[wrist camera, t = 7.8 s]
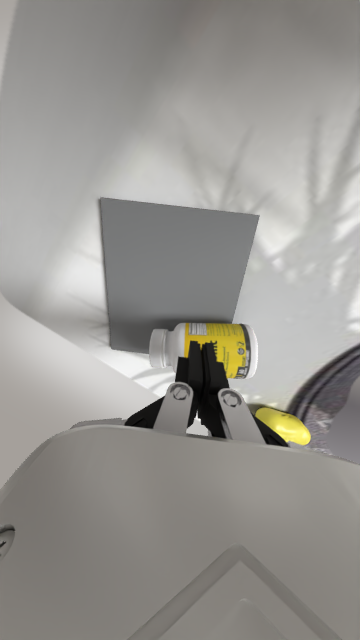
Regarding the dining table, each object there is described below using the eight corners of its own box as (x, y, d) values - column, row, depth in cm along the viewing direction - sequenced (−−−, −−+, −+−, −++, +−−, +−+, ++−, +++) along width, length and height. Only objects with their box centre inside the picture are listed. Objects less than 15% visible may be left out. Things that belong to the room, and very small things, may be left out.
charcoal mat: (257, 216, 15) (259, 215, 15) (220, 360, 22) (221, 363, 21) (103, 198, 15) (100, 197, 15) (113, 347, 22) (111, 349, 21)
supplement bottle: (253, 392, 16) (150, 386, 17) (239, 356, 21) (160, 353, 21) (264, 342, 13) (144, 339, 14) (246, 315, 18) (157, 313, 19)
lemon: (263, 395, 24) (275, 422, 20) (307, 417, 25) (327, 445, 21) (245, 413, 25) (253, 440, 22) (287, 432, 26) (302, 461, 23)
